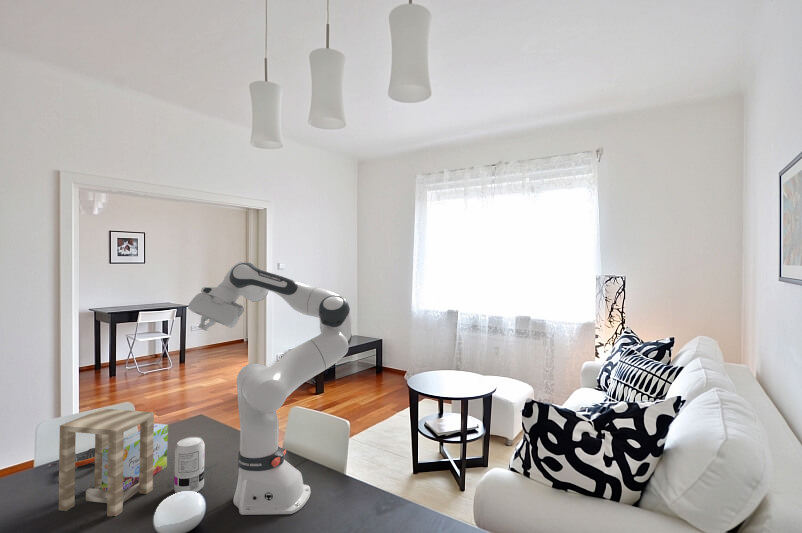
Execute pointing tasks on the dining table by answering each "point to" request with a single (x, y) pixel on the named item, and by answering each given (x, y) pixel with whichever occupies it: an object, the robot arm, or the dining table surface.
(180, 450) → the supplement can
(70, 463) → the footstool
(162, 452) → the snack box
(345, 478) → the dining table surface
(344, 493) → the dining table surface
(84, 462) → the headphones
